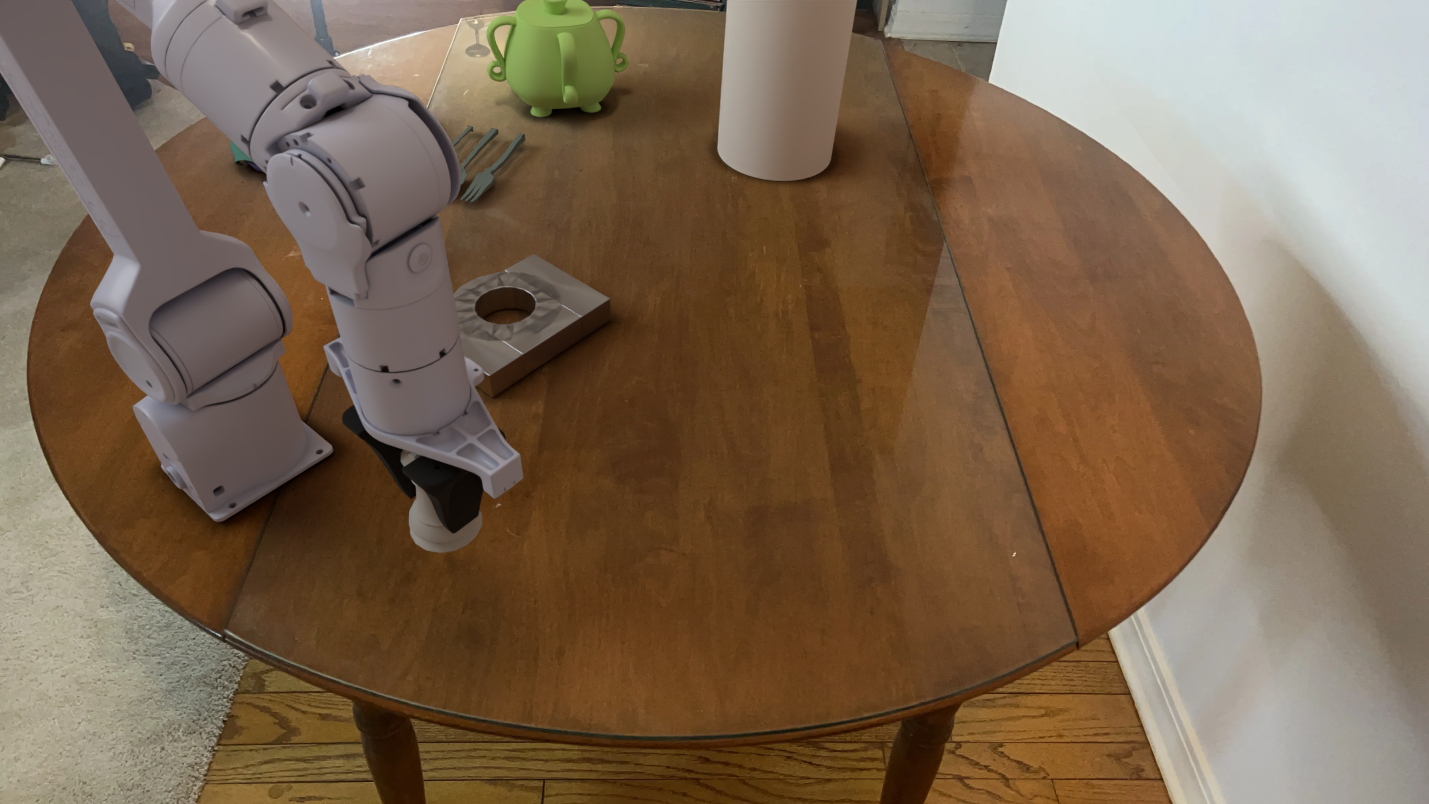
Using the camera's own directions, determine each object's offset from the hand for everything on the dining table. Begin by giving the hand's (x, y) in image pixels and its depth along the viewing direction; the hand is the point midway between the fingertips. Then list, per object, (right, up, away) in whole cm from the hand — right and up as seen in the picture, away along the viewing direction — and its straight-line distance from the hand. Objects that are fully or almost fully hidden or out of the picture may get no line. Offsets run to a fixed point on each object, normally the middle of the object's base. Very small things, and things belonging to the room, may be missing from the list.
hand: (442, 504), depth 55 cm
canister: (+24, +36, +51) cm, 67 cm away
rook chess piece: (0, -2, +2) cm, 3 cm away
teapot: (-3, +45, +59) cm, 74 cm away
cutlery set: (-21, +34, +45) cm, 60 cm away
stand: (-1, +13, +25) cm, 28 cm away
